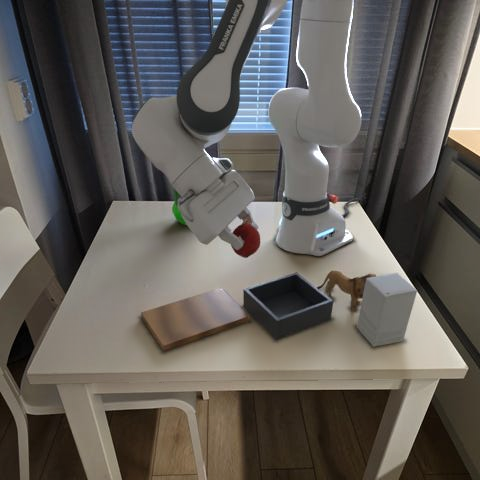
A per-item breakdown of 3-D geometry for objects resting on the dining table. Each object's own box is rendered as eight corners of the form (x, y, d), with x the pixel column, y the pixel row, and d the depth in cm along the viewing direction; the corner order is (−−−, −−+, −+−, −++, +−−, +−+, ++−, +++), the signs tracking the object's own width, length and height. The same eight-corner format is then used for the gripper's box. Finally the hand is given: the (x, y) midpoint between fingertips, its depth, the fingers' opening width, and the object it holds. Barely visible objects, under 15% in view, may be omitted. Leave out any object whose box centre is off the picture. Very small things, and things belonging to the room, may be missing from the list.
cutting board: (220, 292, 108) (220, 287, 107) (248, 321, 99) (248, 316, 98) (141, 317, 100) (140, 312, 99) (163, 351, 91) (163, 345, 90)
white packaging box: (404, 341, 94) (419, 290, 86) (372, 347, 92) (384, 297, 84) (385, 320, 99) (397, 271, 92) (355, 326, 98) (365, 277, 90)
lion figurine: (377, 305, 104) (385, 272, 98) (368, 317, 100) (376, 283, 95) (320, 285, 110) (325, 253, 105) (310, 295, 107) (314, 262, 102)
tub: (294, 289, 109) (296, 271, 106) (330, 319, 100) (333, 300, 97) (243, 307, 103) (243, 288, 100) (275, 340, 94) (277, 321, 91)
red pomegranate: (253, 267, 86) (254, 228, 82) (226, 261, 88) (225, 223, 83) (263, 253, 91) (265, 216, 86) (237, 248, 92) (237, 211, 88)
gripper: (183, 191, 74) (238, 254, 77) (232, 156, 89) (276, 210, 92) (162, 212, 78) (215, 272, 81) (212, 175, 93) (255, 226, 96)
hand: (248, 238), depth 87 cm, fingers closed on red pomegranate, 6 cm apart
